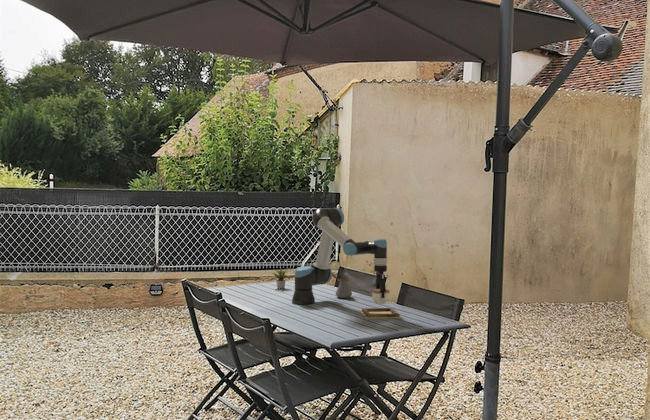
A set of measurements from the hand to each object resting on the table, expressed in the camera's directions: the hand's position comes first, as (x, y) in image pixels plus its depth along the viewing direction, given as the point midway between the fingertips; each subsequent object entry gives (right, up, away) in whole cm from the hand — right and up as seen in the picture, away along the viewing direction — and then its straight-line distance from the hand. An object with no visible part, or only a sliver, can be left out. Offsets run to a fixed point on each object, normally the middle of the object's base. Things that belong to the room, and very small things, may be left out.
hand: (380, 301), depth 347 cm
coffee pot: (-23, -6, +58) cm, 63 cm away
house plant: (-66, -5, +91) cm, 113 cm away
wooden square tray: (0, -8, 0) cm, 8 cm away
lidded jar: (0, -1, 0) cm, 1 cm away
